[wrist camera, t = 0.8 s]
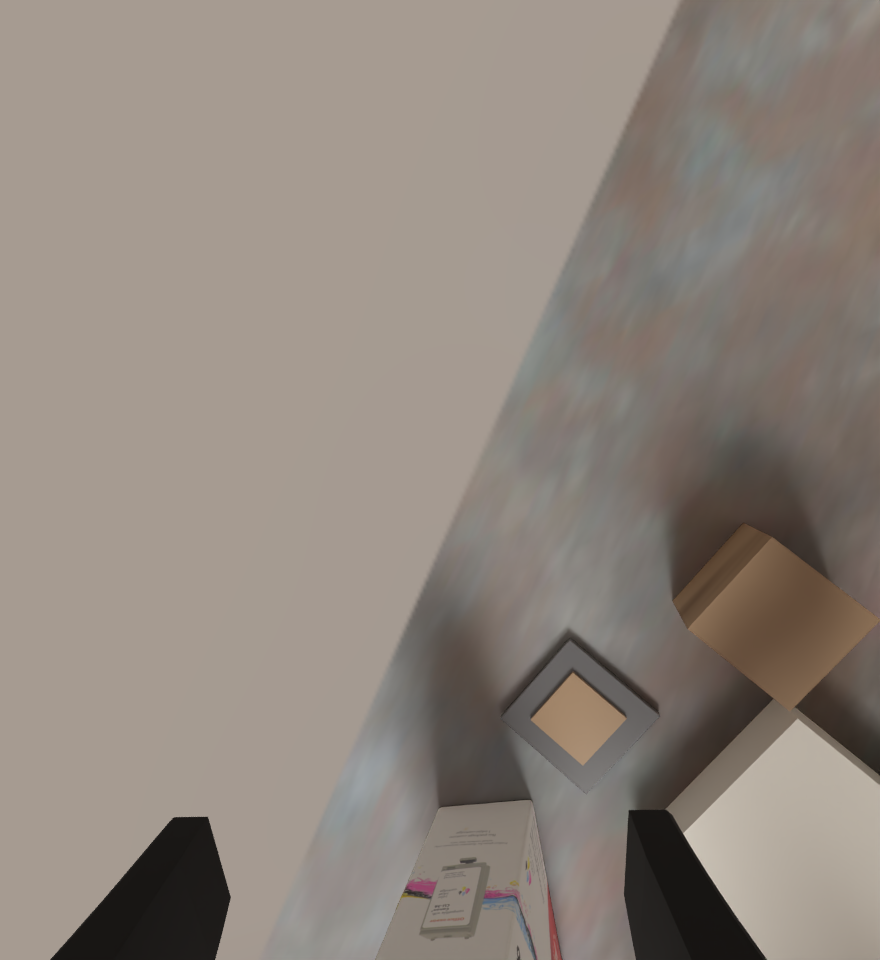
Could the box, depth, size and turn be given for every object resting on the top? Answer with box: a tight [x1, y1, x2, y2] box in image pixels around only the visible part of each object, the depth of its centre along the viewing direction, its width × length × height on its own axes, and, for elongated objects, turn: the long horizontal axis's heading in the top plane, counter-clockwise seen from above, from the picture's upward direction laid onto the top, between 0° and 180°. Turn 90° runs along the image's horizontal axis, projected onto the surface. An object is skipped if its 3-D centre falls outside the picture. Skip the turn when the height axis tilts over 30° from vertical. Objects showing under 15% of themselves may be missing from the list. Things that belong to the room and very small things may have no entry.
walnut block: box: [673, 523, 880, 711], centre depth 25 cm, size 4×4×4 cm
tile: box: [501, 638, 660, 794], centre depth 29 cm, size 5×5×1 cm
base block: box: [665, 699, 880, 960], centre depth 26 cm, size 9×9×3 cm
